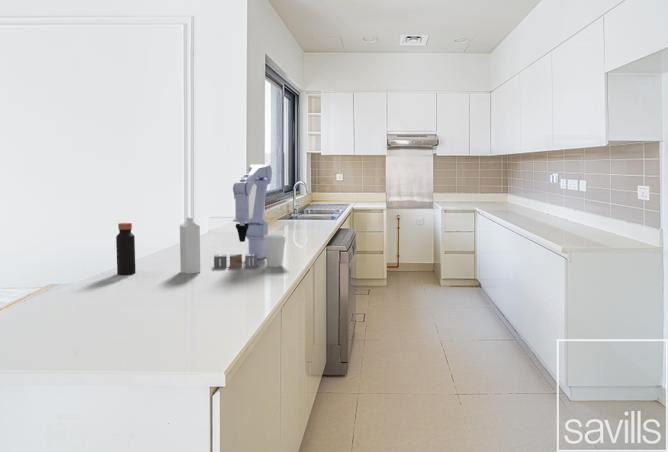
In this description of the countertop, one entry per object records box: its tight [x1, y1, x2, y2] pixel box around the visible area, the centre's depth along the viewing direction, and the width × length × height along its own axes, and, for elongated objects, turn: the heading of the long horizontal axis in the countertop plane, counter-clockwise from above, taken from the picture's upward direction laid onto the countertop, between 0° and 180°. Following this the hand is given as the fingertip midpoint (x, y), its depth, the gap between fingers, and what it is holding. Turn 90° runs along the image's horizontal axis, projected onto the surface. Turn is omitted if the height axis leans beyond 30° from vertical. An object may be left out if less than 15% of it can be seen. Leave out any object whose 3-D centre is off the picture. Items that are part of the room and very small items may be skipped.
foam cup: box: [264, 234, 286, 268], centre depth 243 cm, size 10×9×13 cm
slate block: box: [244, 253, 258, 269], centre depth 242 cm, size 5×5×5 cm
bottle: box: [115, 222, 136, 276], centre depth 222 cm, size 7×7×20 cm
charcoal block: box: [213, 254, 228, 269], centre depth 240 cm, size 5×5×5 cm
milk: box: [179, 217, 201, 275], centre depth 226 cm, size 6×6×22 cm
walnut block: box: [229, 253, 243, 269], centre depth 241 cm, size 5×5×5 cm
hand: (242, 240), depth 246 cm, fingers open, 6 cm apart
